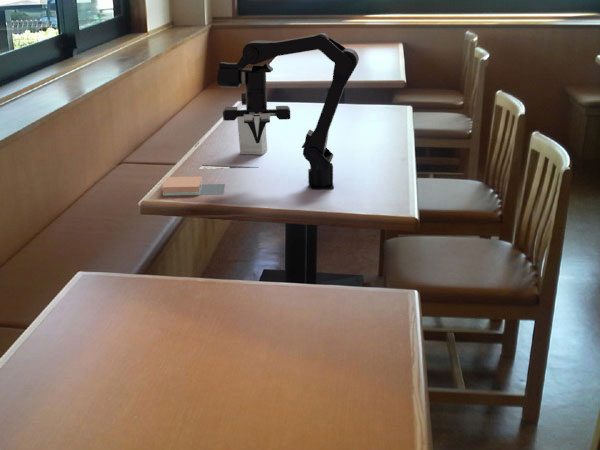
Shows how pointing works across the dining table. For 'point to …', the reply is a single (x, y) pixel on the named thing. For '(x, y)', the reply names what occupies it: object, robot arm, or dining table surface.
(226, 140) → the dining table surface
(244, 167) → the chocolate bar
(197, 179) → the tile
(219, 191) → the mat
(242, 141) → the skincare box
